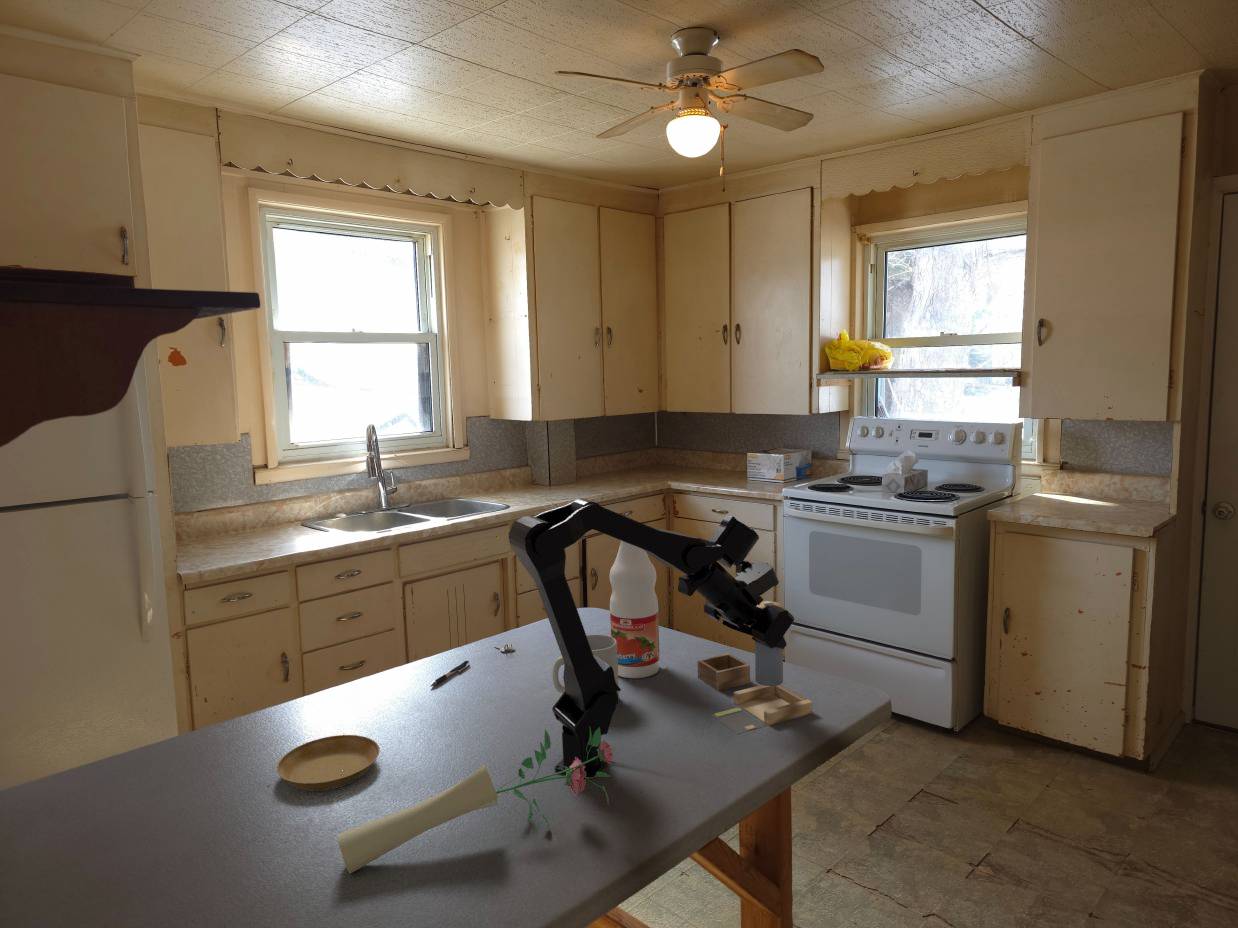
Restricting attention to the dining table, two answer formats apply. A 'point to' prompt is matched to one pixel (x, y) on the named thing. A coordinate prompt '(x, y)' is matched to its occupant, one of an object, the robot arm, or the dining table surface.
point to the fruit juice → (634, 612)
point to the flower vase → (454, 807)
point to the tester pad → (738, 720)
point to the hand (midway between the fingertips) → (775, 641)
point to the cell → (768, 659)
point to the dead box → (723, 671)
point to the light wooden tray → (772, 703)
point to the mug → (600, 647)
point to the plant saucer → (328, 762)
